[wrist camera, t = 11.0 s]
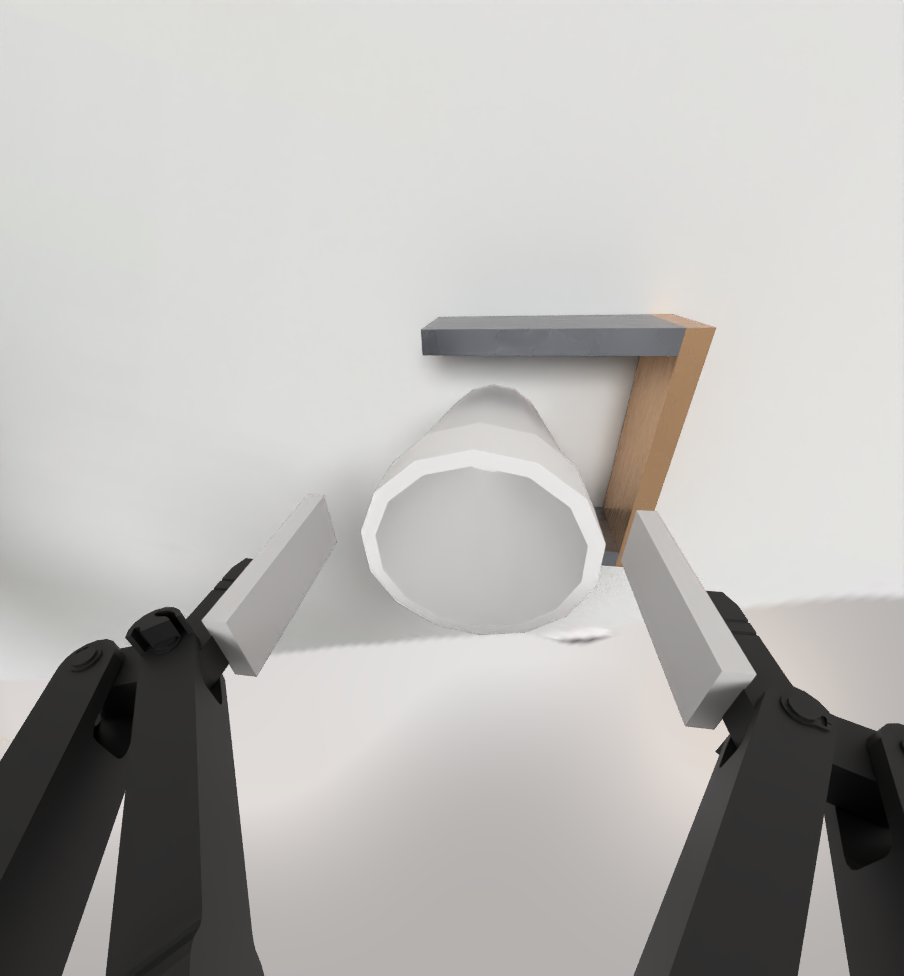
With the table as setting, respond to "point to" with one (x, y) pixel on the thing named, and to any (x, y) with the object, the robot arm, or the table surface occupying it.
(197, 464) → the table surface
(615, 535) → the channel
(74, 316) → the table surface
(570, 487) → the foam cup
